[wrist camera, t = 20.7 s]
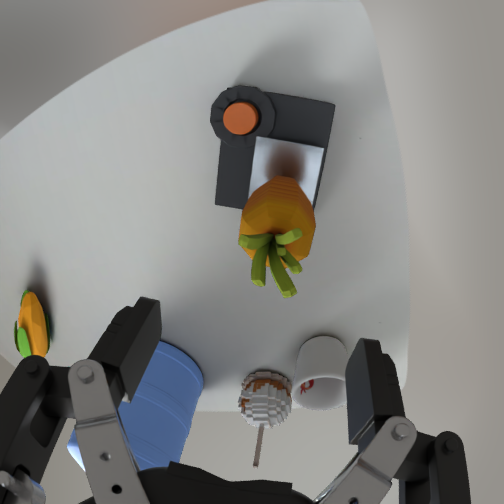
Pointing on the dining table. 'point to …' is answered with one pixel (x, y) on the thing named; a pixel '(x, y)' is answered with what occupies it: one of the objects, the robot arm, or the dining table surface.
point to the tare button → (240, 118)
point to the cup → (320, 374)
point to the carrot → (277, 231)
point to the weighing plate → (286, 163)
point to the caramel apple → (264, 403)
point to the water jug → (159, 409)
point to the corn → (32, 327)
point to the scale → (264, 135)
